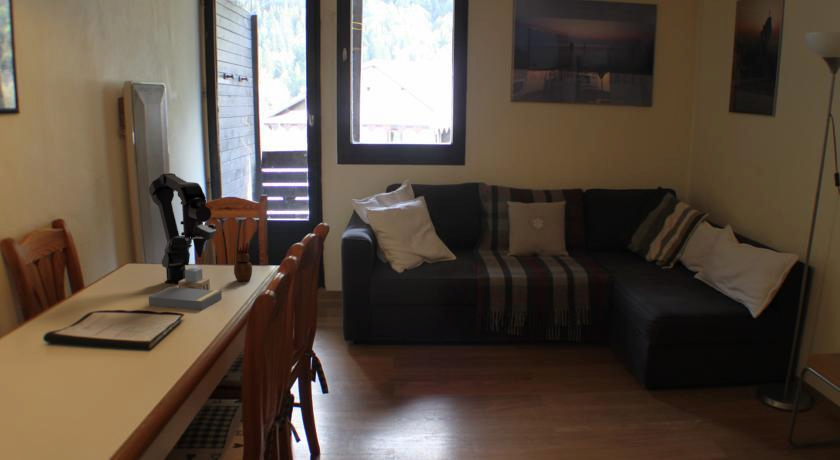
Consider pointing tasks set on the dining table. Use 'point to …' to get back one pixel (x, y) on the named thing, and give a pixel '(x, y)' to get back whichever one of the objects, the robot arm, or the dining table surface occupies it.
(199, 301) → the dock
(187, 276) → the grey cube
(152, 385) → the dining table surface
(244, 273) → the brown vase with sticks
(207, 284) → the pallet
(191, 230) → the robot arm
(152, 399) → the dining table surface
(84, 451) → the dining table surface
